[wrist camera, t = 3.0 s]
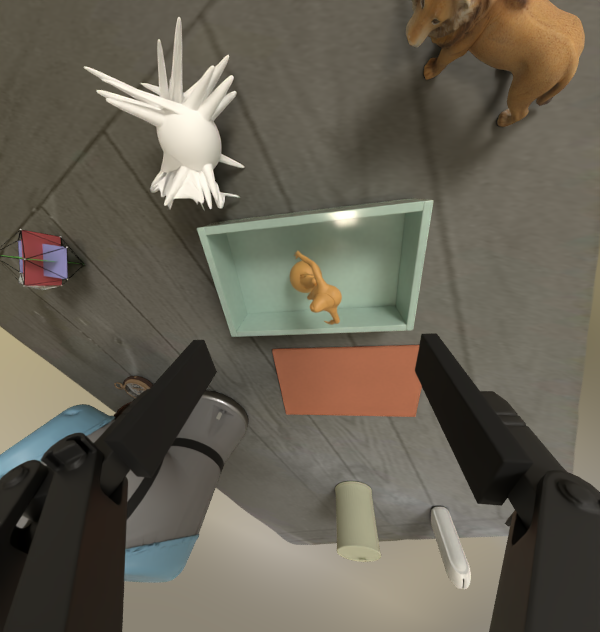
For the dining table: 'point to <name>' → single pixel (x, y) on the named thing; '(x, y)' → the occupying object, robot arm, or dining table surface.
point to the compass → (133, 389)
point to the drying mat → (349, 380)
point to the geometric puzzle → (42, 260)
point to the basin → (321, 267)
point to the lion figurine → (504, 44)
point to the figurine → (315, 287)
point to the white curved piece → (450, 548)
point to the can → (356, 522)
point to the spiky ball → (181, 126)
